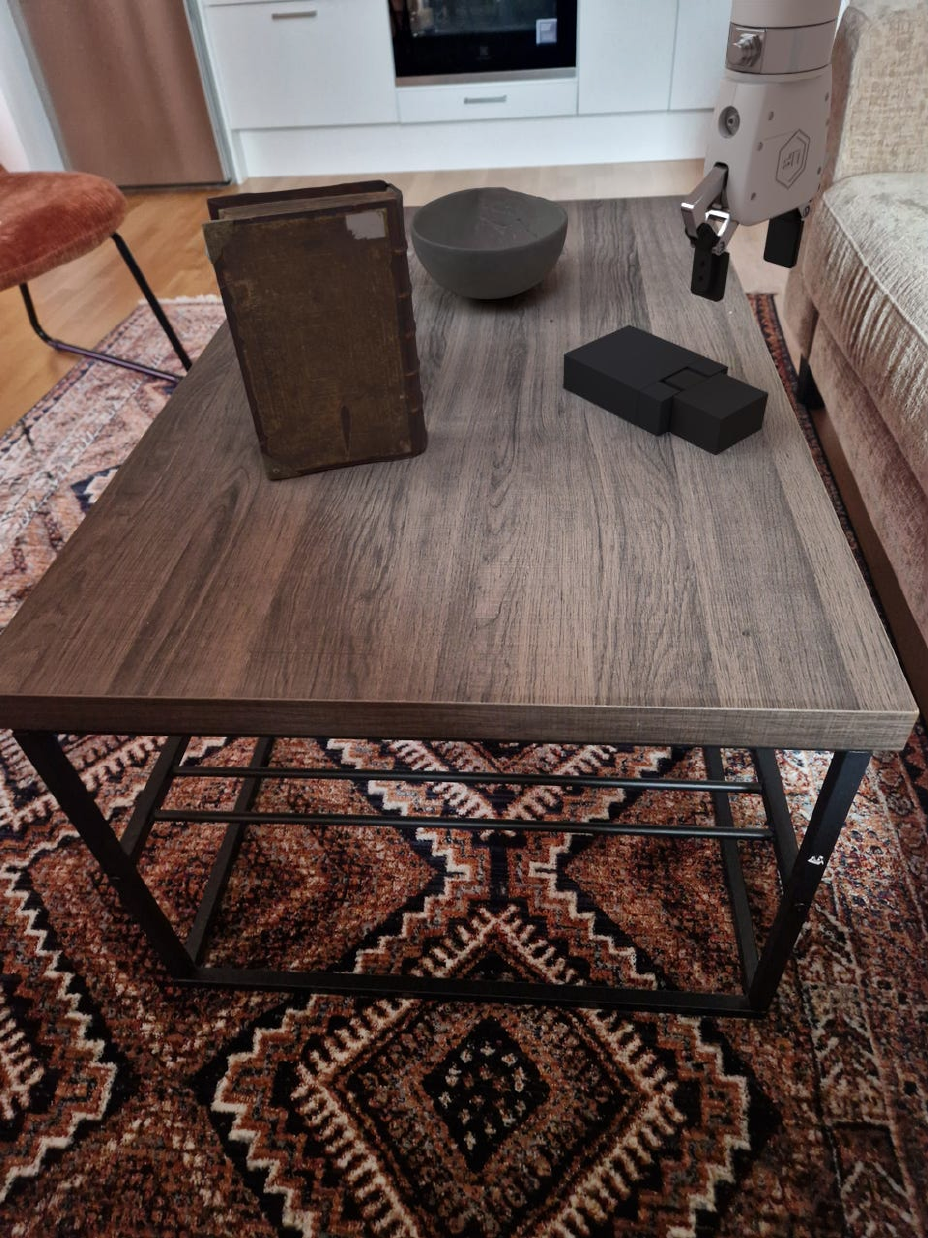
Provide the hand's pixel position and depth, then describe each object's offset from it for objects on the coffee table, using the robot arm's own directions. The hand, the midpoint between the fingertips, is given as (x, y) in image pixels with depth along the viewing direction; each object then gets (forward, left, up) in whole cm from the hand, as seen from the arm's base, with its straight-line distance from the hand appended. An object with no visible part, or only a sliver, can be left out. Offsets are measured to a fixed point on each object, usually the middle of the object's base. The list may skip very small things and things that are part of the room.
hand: (743, 279), depth 74 cm
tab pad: (+2, 0, -15) cm, 16 cm away
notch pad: (+11, 0, -16) cm, 19 cm away
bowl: (+44, -6, -16) cm, 47 cm away
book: (+23, +30, -16) cm, 41 cm away
